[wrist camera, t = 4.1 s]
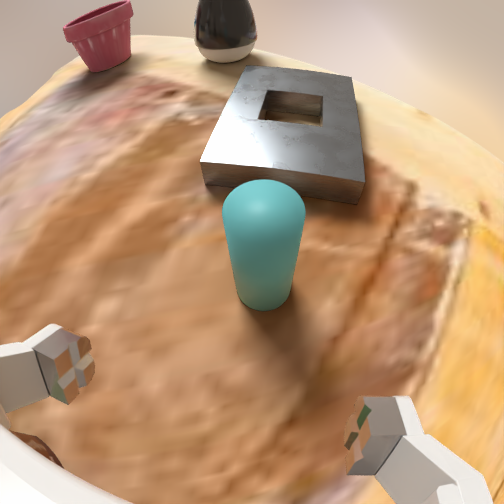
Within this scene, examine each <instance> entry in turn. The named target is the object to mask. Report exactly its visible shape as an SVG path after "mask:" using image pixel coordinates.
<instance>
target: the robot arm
mask: <svg viewBox="0 0 504 504" xmlns="http://www.w3.org/2000/svg"><path fill="white" fill-rule="evenodd" d="M91 349H92V348H91V344H90V340H89V339H88V338H87V337H85V336H83V335H80V334H78V333H76V332H73V331H71V330H69V329H66V328H63V327H61V326H59V325H57V324H49V325H48V326H46V327H45V328H43V329H42V330H40V331H39V332H37V333H36V334H35V335H33V336H32V337H30V338H29V339H27V340H26V341H24V342H23V343H20V342H16V343H10V344H5V345H0V504H134V503H131V502H129V501H126V500H124V499H122V498H119V497H117V496H115V495H113V494H111V493H108V492H106V491H104V490H102V489H100V488H98V487H96V486H94V485H92V484H90V483H88V482H86V481H85V480H83V479H81V478H79V477H77V476H75V475H74V474H72V473H70V472H68V471H67V470H65V469H63V468H62V467H60V466H58V465H57V464H55V463H54V462H52V461H50V460H49V459H47V458H46V457H44V456H43V455H41V454H40V453H38V452H37V451H35V450H34V449H33V448H31V447H30V446H28V445H27V444H26V443H24V442H23V441H21V440H20V439H19V438H17V437H16V436H15V435H14V434H12V433H11V432H10V431H9V430H8V429H9V428H10V427H11V422H10V421H9V419H8V417H7V415H6V413H9V412H11V411H14V410H17V409H19V408H22V407H24V406H27V405H30V404H32V403H35V402H37V401H40V400H42V399H45V398H47V397H49V395H50V396H51V397H53V398H55V399H57V400H59V401H61V402H63V403H65V404H67V405H69V404H70V403H71V402H72V401H73V400H74V399H75V398H76V396H77V395H78V394H79V388H80V387H84V386H87V385H88V384H89V383H90V381H91V380H92V378H93V375H94V373H95V364H94V360H93V358H92V357H91V355H90V354H89V352H90V350H91ZM354 408H355V413H353V414H352V415H350V416H349V418H348V421H347V423H346V427H345V431H344V446H345V447H346V448H347V449H348V450H349V451H348V453H347V455H346V457H345V461H346V473H347V475H375V478H376V479H377V480H378V482H379V483H380V484H381V485H382V487H383V488H384V489H385V491H386V492H387V493H388V494H389V496H390V497H391V498H392V499H393V501H394V502H395V503H396V504H493V501H492V498H491V495H490V493H489V490H488V487H487V485H486V482H485V479H484V477H483V475H482V474H481V473H479V472H478V471H477V470H475V469H474V468H473V467H471V466H470V465H469V464H467V463H466V462H465V461H463V460H462V459H461V458H459V457H458V456H457V455H455V454H454V453H453V452H451V451H450V450H449V449H448V448H446V447H445V446H444V445H442V444H441V443H440V442H438V441H437V440H436V439H435V438H433V437H432V436H431V435H429V434H426V435H425V434H424V431H423V428H422V426H421V423H420V420H419V418H418V415H417V412H416V410H415V407H414V405H413V402H412V400H411V398H410V397H409V396H367V395H360V396H359V397H358V398H357V400H356V402H355V404H354Z"/></svg>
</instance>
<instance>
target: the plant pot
mask: <svg viewBox="0 0 504 504" xmlns="http://www.w3.org/2000/svg"><path fill="white" fill-rule="evenodd" d="M132 16H133V10H132V7H131V3H130V1H129V0H124V1H119V2H116V3H112V4H109V5H106V6H103V7H101V8H98V9H96V10H93V11H91V12H89V13H87V14H85V15H83V16H80V17H79V18H77V19H75V20H73V21H71V22H69V23H68V24H66V25H65V26H64V27H63V31H64V34H65V38H66V40H67V42H69V43H70V42H72V44H73V45H74V47H75V48H76V50H77V51H78V53H79V55H80V56H81V58H82V59H83V61H84V62H85V64H86V65H87V66H88V68H89V69H90V71H91V72H100V71H104V70H107V69H110V68H112V67H115V66H117V65H119V64H121V63H122V62H124V61H125V60H127V59H128V58H129V57H130V55H131V48H130V18H131V17H132Z"/></svg>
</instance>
